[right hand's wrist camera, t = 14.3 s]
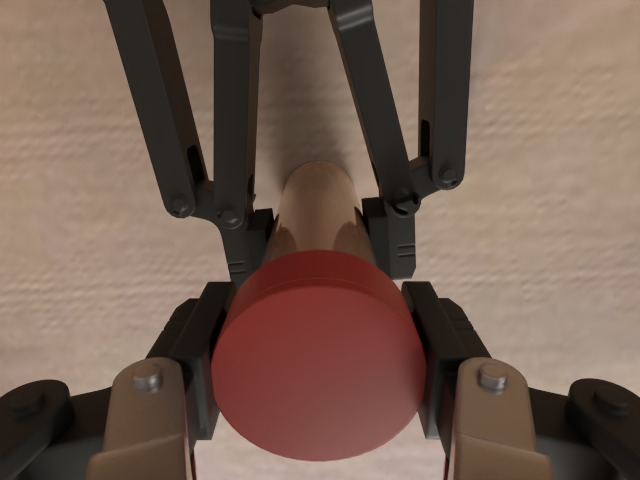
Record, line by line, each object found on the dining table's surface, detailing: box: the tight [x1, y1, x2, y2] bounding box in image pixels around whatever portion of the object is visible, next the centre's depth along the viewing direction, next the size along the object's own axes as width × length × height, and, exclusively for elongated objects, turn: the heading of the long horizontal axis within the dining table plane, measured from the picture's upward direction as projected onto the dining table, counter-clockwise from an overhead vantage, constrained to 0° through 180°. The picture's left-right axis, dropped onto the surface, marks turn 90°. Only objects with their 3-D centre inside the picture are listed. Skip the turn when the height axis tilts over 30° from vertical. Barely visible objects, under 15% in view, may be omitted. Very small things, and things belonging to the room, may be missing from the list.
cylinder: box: [260, 161, 378, 268], centre depth 17 cm, size 4×4×15 cm
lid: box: [211, 250, 427, 462], centre depth 10 cm, size 5×5×2 cm
